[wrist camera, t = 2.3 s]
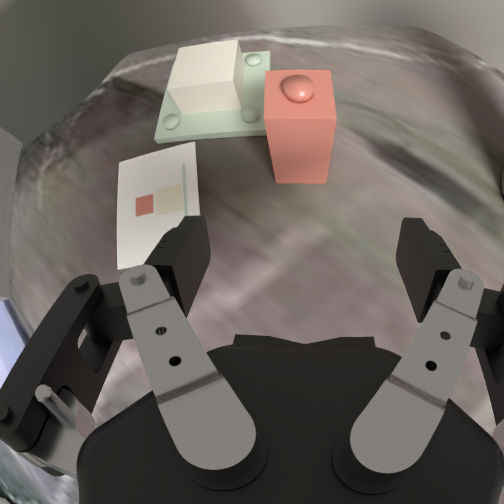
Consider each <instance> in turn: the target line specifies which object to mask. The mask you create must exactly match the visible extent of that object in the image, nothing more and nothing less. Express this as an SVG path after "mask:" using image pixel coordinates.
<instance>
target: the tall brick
mask: <svg viewBox="0 0 504 504" xmlns="http://www.w3.org/2000/svg"><path fill="white" fill-rule="evenodd" d="M336 121H337V118H336V109H335V101H334V94H333V87H332V80H331V73H330V70H271V71H265V96H264V123H265V128H266V133H267V139H268V144H269V149H270V154H271V159H272V165H273V170H274V175H275V181H276V183H322V184H326V182H327V176H328V170H329V165H330V159H331V153H332V147H333V140H334V134H335V128H336Z"/></svg>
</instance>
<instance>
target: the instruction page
mask: <svg viewBox="0 0 504 504" xmlns="http://www.w3.org/2000/svg"><path fill="white" fill-rule="evenodd" d="M192 215H200V205H199V192H198V178H197V162H196V145H195V141H194V142H190V143H186V144H182V145H178V146H174V147H171V148H167V149H163V150H159V151H156V152H152V153H149V154H145V155H142V156H138V157H135V158H132V159H129V160H125V161H122V162H119V174H118V195H117V265H118V270H119V269H125V268H131V267H134V266H137V265H143V264H144V262H145V261H146V259H147V258H148V256H149V255H150V254H151V252H152V251H153V249H154V248H155V246H156V245H157V243H158V242H159V241H160V239H161V238H162V236H163V235H164V234H165V233H166V232H168V231H169V230H170V229H172V228H173V227H178V225H179V224H180V222H181V221H182V219H183V218H184V216H192Z"/></svg>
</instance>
